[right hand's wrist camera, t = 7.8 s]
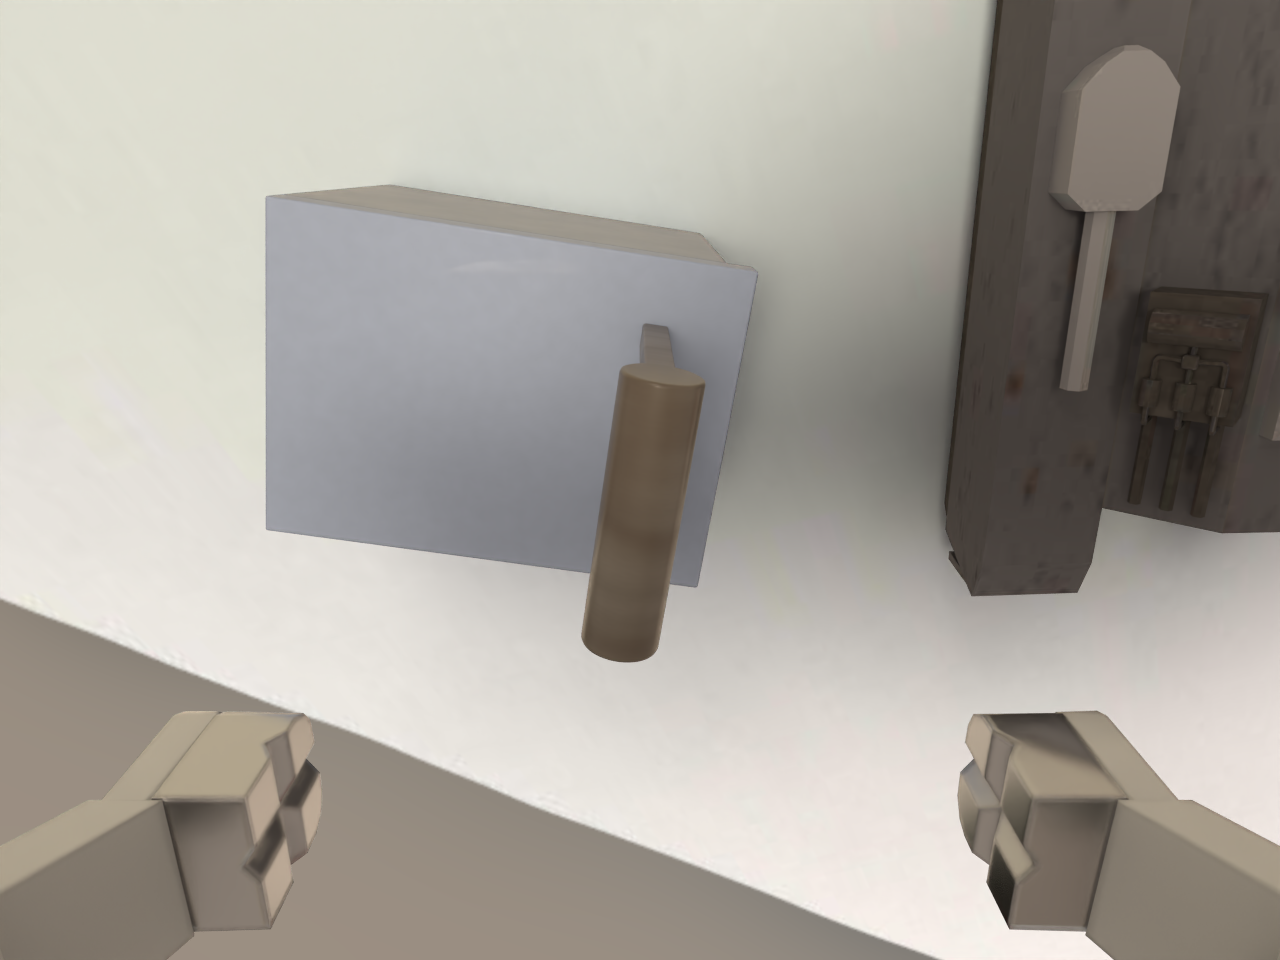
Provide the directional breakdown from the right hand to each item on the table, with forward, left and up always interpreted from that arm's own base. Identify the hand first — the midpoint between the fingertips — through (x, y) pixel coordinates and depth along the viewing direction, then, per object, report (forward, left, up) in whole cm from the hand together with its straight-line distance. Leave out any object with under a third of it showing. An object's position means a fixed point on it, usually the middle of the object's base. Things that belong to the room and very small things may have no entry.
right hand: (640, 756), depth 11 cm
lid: (+4, -1, -15) cm, 16 cm away
